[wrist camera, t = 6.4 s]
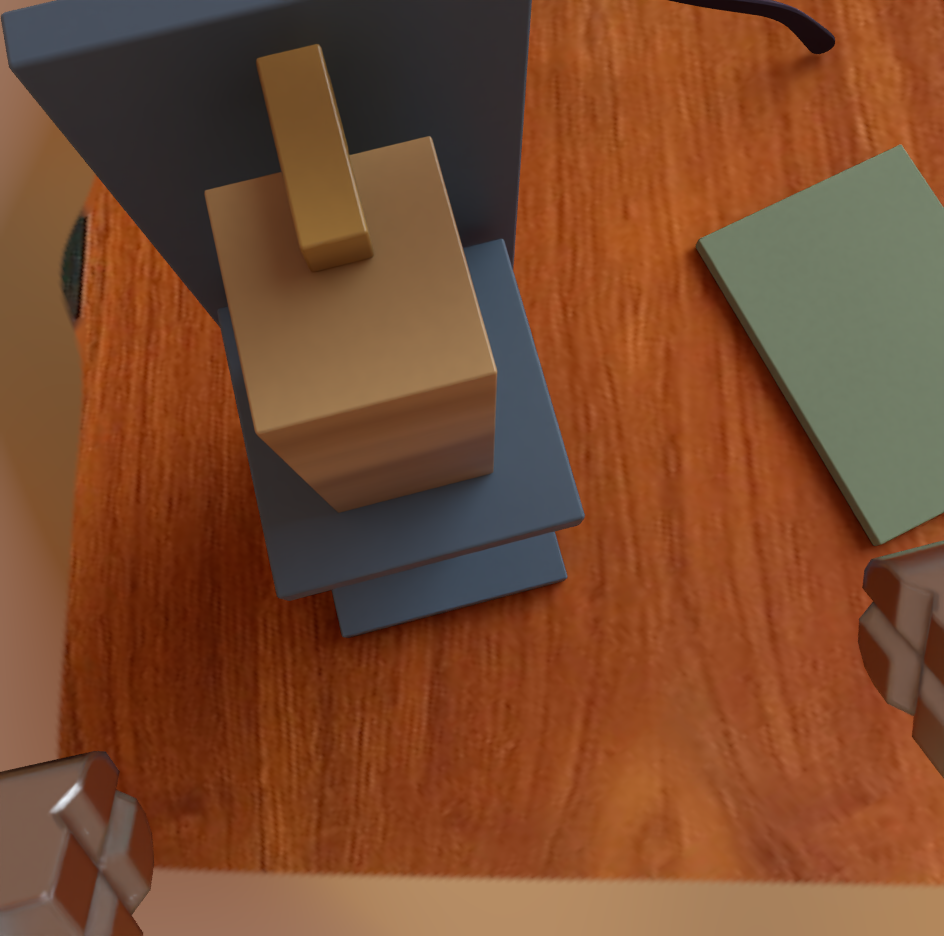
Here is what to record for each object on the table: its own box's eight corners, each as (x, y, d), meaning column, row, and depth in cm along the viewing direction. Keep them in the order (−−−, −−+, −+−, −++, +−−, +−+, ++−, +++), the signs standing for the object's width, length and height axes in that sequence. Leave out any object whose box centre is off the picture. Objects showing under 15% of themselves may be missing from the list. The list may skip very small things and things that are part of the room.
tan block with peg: (494, 472, 19) (499, 354, 12) (337, 513, 19) (238, 420, 12) (435, 257, 20) (404, 21, 13) (287, 294, 20) (167, 77, 13)
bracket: (565, 580, 31) (703, 448, 11) (346, 638, 30) (95, 607, 11) (499, 349, 33) (519, -111, 13) (293, 401, 32) (-3, 10, 13)
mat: (1085, 438, 31) (1097, 434, 31) (873, 547, 31) (880, 544, 30) (894, 152, 34) (901, 143, 33) (694, 246, 33) (698, 239, 33)
